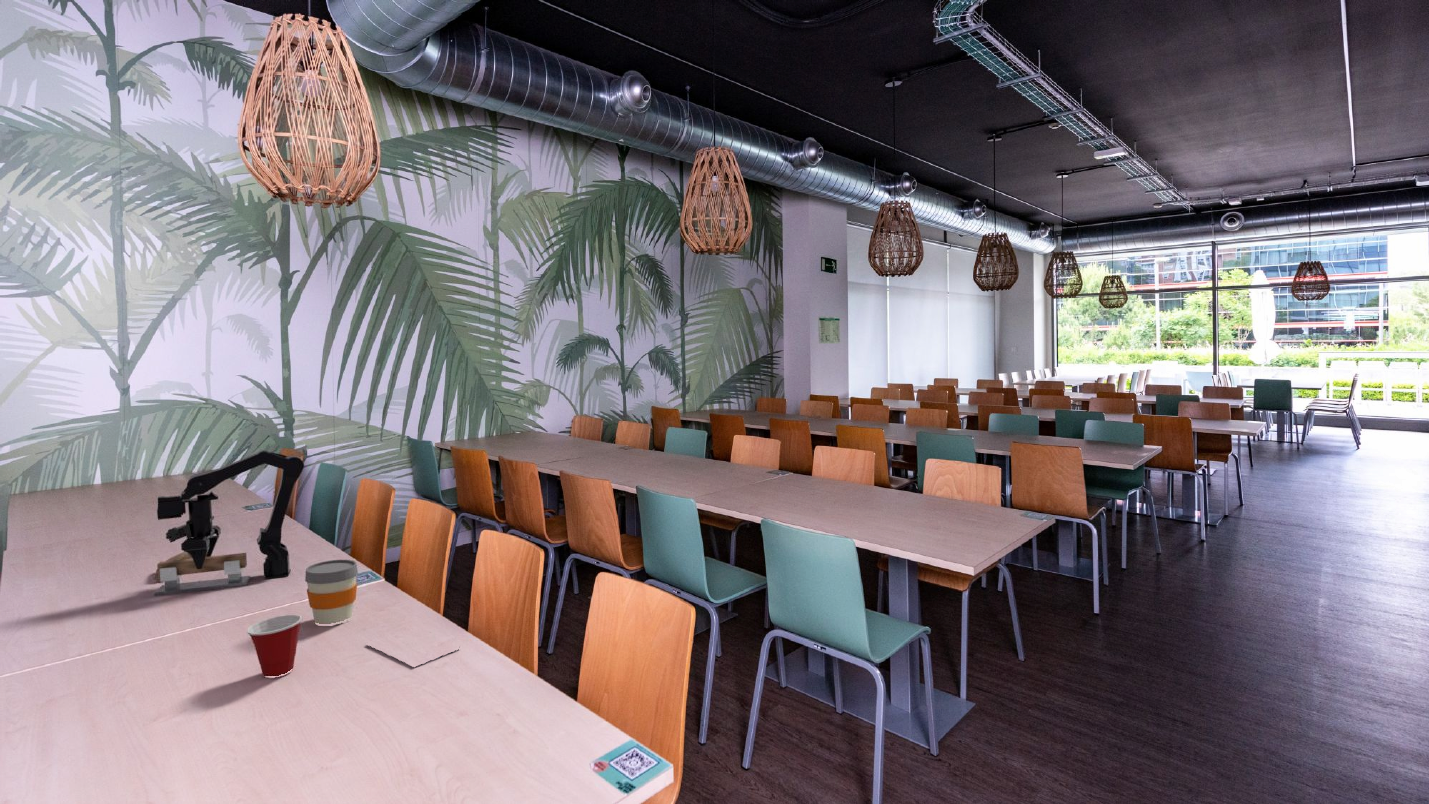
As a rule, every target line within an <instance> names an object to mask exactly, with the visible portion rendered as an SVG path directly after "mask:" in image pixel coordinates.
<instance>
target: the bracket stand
mask: <svg viewBox="0 0 1429 804" xmlns="http://www.w3.org/2000/svg"><path fill="white" fill-rule="evenodd" d="M243 570H244V568H240V560H233V561H224V570H223V571H224V572H223V574H224V576H227V577H223V578H216V579H208V580H199V581H189V582H181V581H180V577H182V575H178V574H177V566H174V567H164V568H160V582H159V583H162V582H164V584H162V585H161V586H160V587H158V589H157V590H155V592H154V597H157V596H165V595H173V594H182V593H192V592H201V591H207V590H218V589H224V588H225V589H227V588H235V587H234V586H236V587H243V586H247V585H248V583H249V582H250V580H251V577H252V576H251V575H243V576H242V574H243V573H242V571H243Z"/></svg>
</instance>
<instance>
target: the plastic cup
mask: <svg viewBox="0 0 1429 804" xmlns="http://www.w3.org/2000/svg"><path fill="white" fill-rule="evenodd" d="M302 621H303V617H302V615H300V614H295V613H294V614H284V615H277V616H273V617H270V618H266V619H262V620H260V621H257V622H255V623H253V624H252V625H250V626H248V628H246V629H245V631H246V634H247V635H249V636H250V638H251V640H252V643H253V645H254V649H255V652H256V656H257V660H258V663H259V665H260V669H261V674H262V675H264V676H279V675H281V674H285V673H287V672H288V671H290V670H291V669H294V667H295V657H296V654H297V646H298V638H299V633H300V625H301V622H302ZM264 676H263V677H264Z"/></svg>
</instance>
